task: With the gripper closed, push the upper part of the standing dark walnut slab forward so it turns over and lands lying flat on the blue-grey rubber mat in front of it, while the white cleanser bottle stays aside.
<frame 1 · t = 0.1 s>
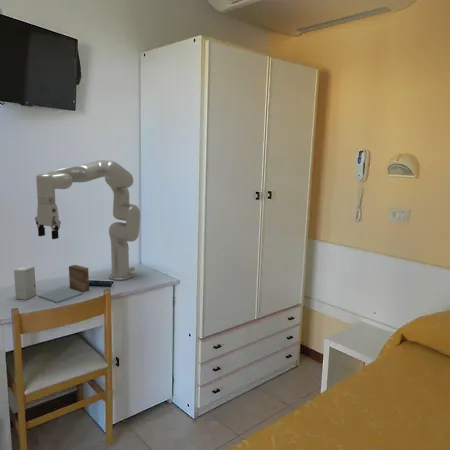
hand: (48, 237, 197), 31 cm above the table, tool pointing down, fingers open, 9 cm apart
skincare box: (26, 297, 207), on the table
mat: (61, 295, 210), on the table
walnut slab: (79, 289, 219), on the table
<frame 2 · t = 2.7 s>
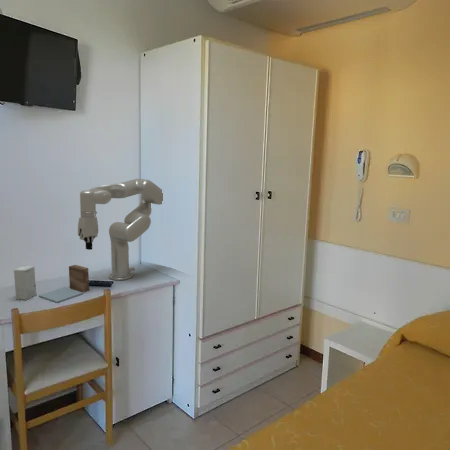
hand: (89, 249, 221), 20 cm above the table, tool pointing down, fingers closed
nothing on the table moved.
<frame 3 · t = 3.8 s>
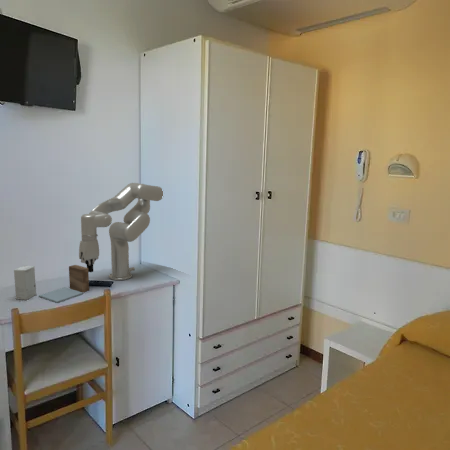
hand: (90, 271, 224), 8 cm above the table, tool pointing down, fingers closed
nothing on the table moved.
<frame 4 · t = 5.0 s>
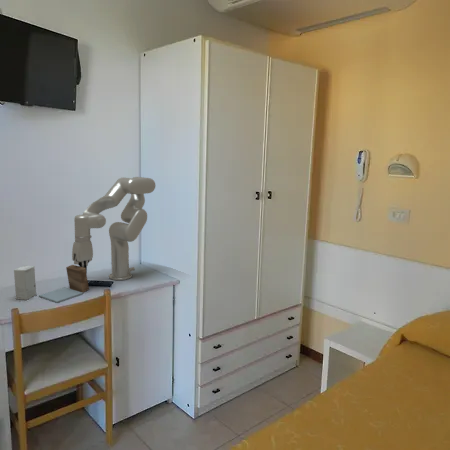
hand: (83, 273, 220), 8 cm above the table, tool pointing down, fingers closed
walnut slab: (79, 289, 219), on the table, tilted 8°
everything else where it was.
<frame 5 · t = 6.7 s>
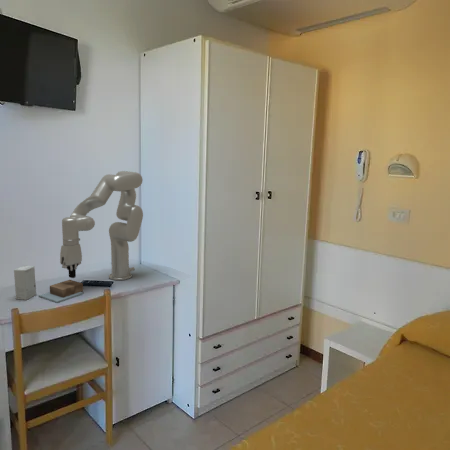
hand: (72, 277, 214), 8 cm above the table, tool pointing down, fingers closed
walnut slab: (76, 285, 217), point 3 cm above the table, tilted 90°, touching mat
everything else where it was.
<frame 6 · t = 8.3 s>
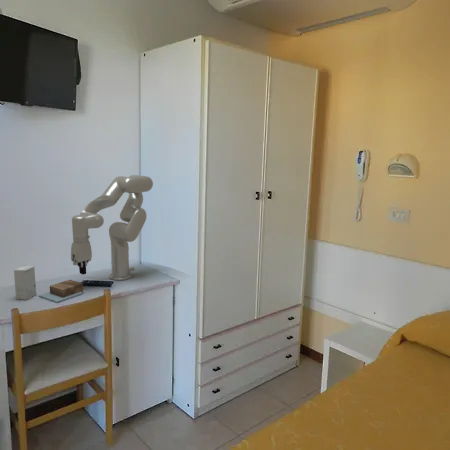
hand: (83, 273, 220), 8 cm above the table, tool pointing down, fingers closed
nothing on the table moved.
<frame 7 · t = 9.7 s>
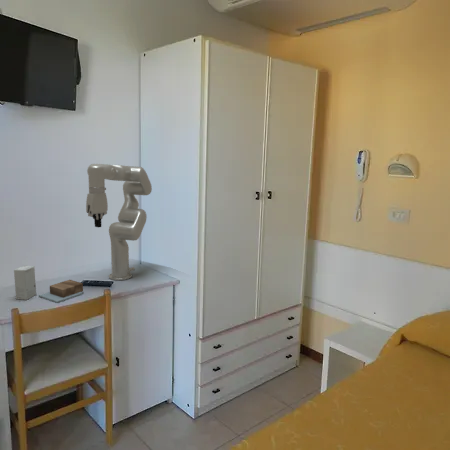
hand: (98, 226, 213), 33 cm above the table, tool pointing down, fingers closed
nothing on the table moved.
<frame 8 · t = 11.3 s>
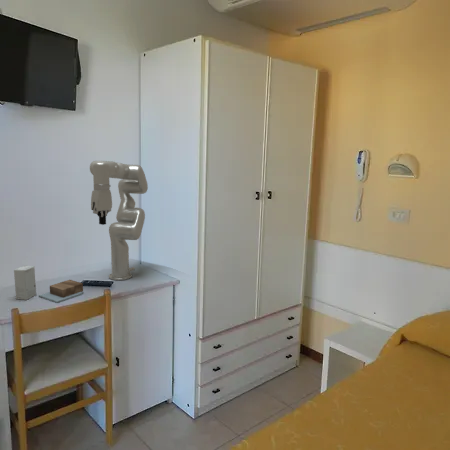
hand: (102, 224, 211), 35 cm above the table, tool pointing down, fingers closed
nothing on the table moved.
at the end: walnut slab tilted 90°; walnut slab inside the target area (5.2 cm from its centre), point 2.8 cm above the table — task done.
